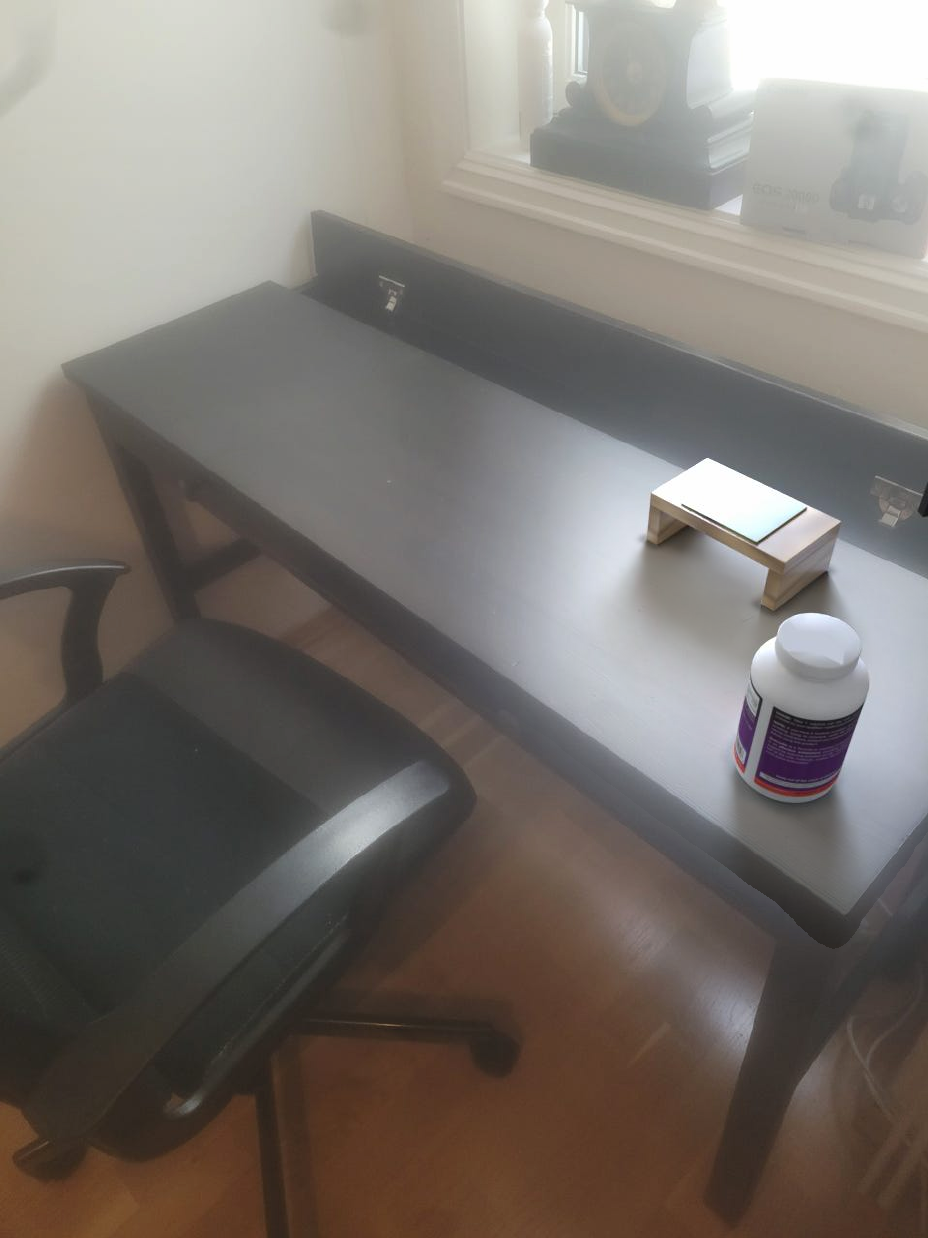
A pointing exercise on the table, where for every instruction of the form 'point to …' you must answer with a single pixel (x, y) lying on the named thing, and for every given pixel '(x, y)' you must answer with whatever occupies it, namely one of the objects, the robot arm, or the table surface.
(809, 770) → the pill bottle
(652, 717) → the table surface
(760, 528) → the shelf
